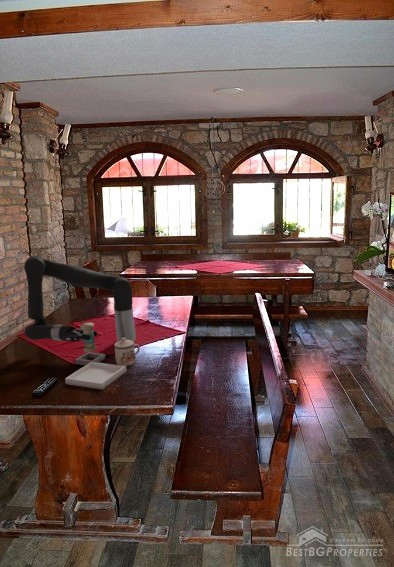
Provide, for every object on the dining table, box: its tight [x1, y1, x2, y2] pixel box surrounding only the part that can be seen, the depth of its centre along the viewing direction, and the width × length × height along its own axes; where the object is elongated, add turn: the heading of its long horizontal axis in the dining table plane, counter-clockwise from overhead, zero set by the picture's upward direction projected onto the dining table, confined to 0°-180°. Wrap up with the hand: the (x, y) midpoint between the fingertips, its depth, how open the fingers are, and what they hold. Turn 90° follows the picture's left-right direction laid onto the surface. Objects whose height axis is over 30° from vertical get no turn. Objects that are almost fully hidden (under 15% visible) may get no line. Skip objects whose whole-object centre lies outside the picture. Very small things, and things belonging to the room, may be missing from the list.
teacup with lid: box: [113, 338, 141, 367], centre depth 205 cm, size 12×9×12 cm
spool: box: [80, 322, 98, 353], centre depth 207 cm, size 6×6×12 cm
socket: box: [74, 352, 106, 366], centre depth 209 cm, size 10×10×2 cm
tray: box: [64, 362, 127, 390], centre depth 190 cm, size 18×18×2 cm
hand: (93, 335), depth 206 cm, fingers closed on spool, 4 cm apart
